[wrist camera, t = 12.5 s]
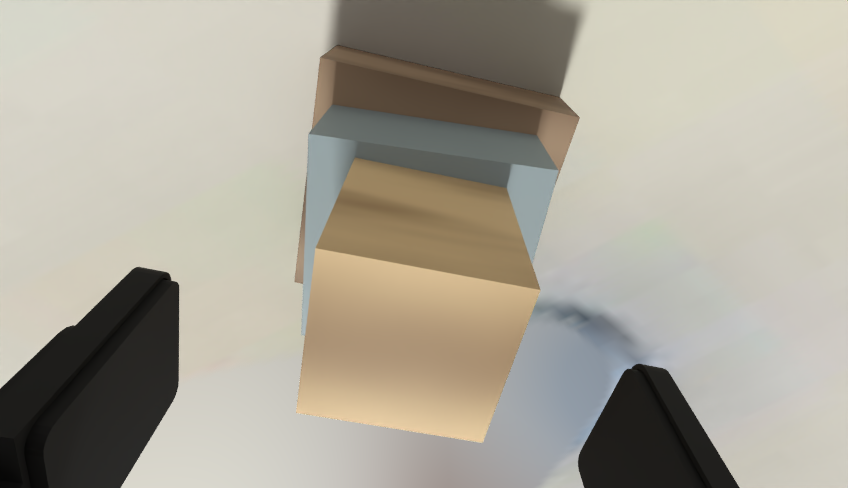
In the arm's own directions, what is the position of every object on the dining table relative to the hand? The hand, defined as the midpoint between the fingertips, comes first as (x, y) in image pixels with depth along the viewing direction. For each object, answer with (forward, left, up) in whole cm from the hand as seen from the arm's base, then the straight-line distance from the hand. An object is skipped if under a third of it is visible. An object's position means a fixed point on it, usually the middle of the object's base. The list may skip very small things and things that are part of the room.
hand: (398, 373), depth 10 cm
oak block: (-1, 0, -7) cm, 7 cm away
